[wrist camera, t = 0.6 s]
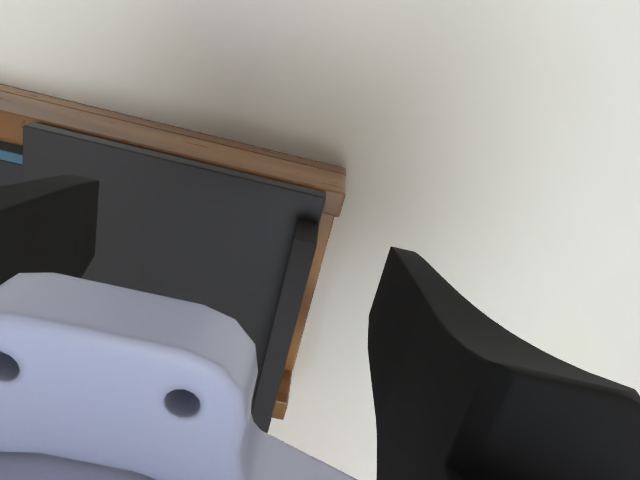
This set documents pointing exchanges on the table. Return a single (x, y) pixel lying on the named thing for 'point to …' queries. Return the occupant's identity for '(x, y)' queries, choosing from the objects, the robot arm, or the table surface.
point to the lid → (195, 237)
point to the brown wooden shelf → (24, 107)
